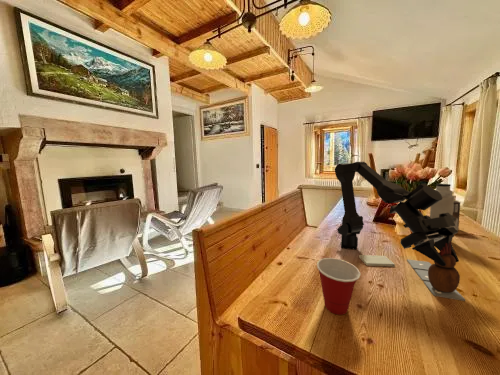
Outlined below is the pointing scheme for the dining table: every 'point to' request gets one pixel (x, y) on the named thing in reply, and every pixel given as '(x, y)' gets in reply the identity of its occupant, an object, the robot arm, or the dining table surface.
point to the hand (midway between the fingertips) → (451, 263)
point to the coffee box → (456, 214)
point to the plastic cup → (337, 283)
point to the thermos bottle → (443, 202)
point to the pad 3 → (444, 293)
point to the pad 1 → (419, 264)
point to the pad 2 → (422, 275)
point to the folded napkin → (376, 260)
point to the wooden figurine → (444, 272)
